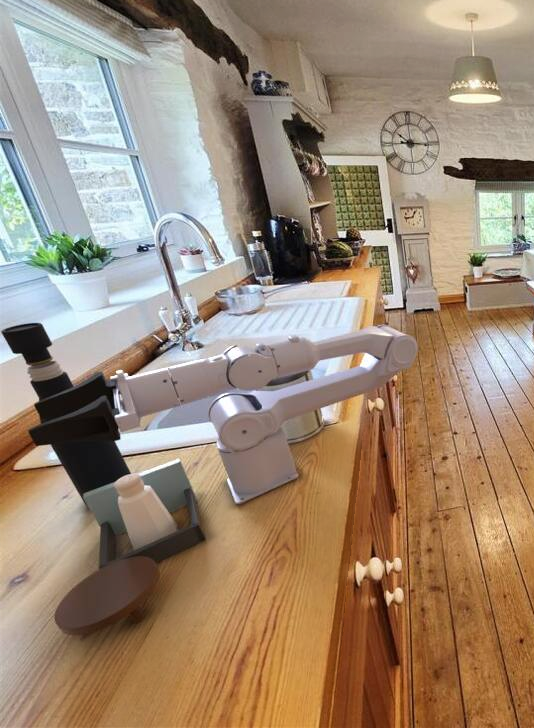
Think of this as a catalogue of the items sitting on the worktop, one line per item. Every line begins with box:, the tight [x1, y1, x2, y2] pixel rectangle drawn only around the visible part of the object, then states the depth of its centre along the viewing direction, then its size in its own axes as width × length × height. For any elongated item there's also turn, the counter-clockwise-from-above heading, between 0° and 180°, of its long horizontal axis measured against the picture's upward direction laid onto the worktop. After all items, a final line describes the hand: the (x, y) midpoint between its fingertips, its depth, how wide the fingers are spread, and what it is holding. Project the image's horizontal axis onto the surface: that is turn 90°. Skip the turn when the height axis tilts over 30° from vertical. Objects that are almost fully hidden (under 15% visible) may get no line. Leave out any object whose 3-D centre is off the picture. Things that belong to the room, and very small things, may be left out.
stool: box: [53, 556, 161, 636], centre depth 49 cm, size 9×9×4 cm
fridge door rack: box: [83, 458, 206, 570], centre depth 58 cm, size 11×11×8 cm
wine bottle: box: [0, 322, 132, 509], centre depth 62 cm, size 6×6×30 cm
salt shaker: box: [114, 472, 179, 551], centre depth 57 cm, size 5×5×11 cm
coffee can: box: [255, 370, 325, 445], centre depth 82 cm, size 10×10×14 cm
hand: (35, 423), depth 50 cm, fingers open, 7 cm apart
